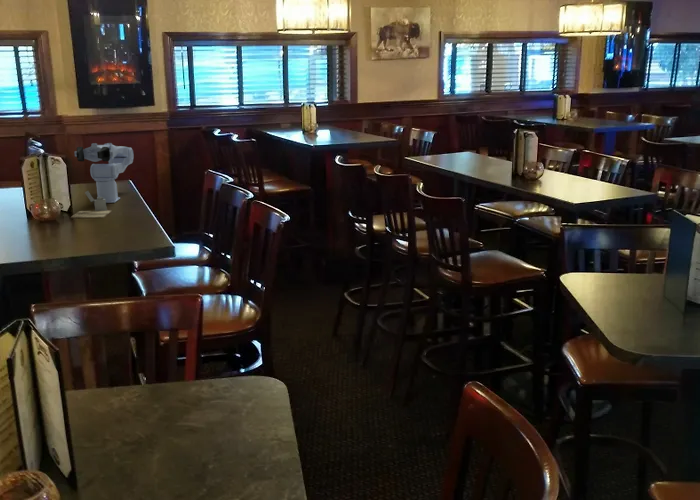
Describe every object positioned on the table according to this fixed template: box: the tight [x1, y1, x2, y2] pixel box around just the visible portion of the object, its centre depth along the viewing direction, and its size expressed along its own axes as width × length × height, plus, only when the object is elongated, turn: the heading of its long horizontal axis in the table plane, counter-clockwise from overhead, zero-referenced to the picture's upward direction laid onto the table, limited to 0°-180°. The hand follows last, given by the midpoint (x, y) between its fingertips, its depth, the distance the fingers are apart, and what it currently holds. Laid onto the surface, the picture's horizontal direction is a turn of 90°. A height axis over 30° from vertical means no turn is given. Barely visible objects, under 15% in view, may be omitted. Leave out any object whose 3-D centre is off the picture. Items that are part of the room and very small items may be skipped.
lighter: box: [84, 190, 108, 211], centre depth 264 cm, size 7×2×8 cm, turn 112°
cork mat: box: [70, 209, 113, 219], centre depth 258 cm, size 11×12×1 cm
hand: (87, 155), depth 259 cm, fingers open, 7 cm apart
